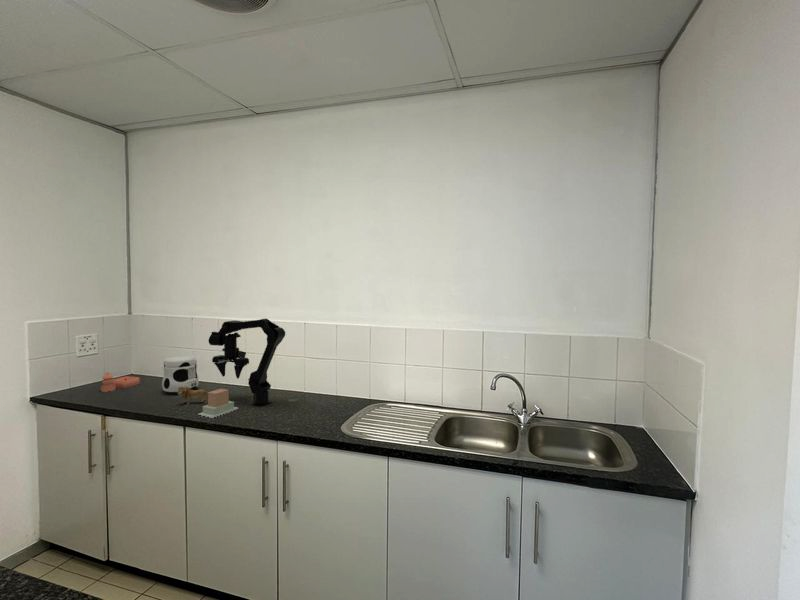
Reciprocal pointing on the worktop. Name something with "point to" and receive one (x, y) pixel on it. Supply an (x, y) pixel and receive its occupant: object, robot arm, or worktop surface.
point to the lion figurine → (192, 393)
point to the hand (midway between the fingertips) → (230, 377)
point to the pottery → (117, 382)
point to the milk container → (179, 373)
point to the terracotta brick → (218, 397)
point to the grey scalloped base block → (217, 410)
